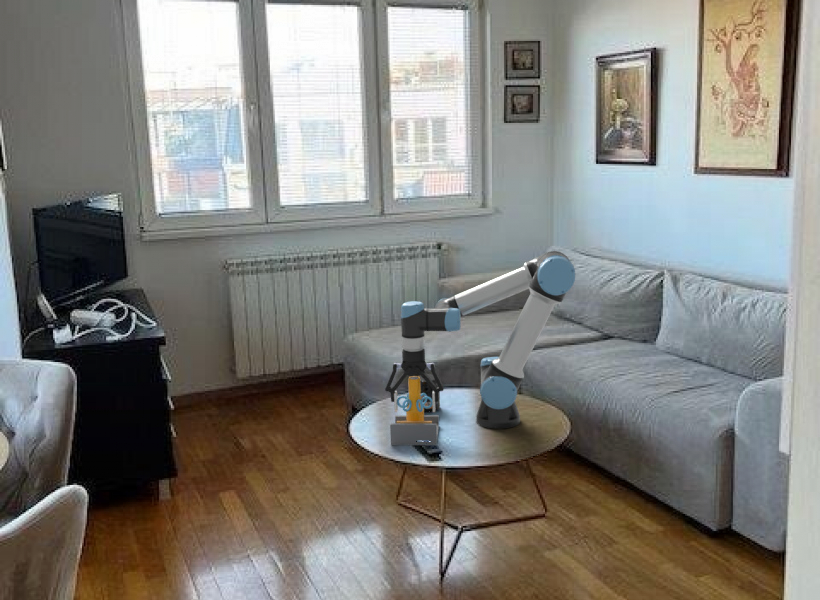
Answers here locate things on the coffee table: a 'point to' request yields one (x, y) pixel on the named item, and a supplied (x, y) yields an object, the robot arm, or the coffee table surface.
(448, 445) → the coffee table surface
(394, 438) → the frame
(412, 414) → the cylinder
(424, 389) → the supplement container
